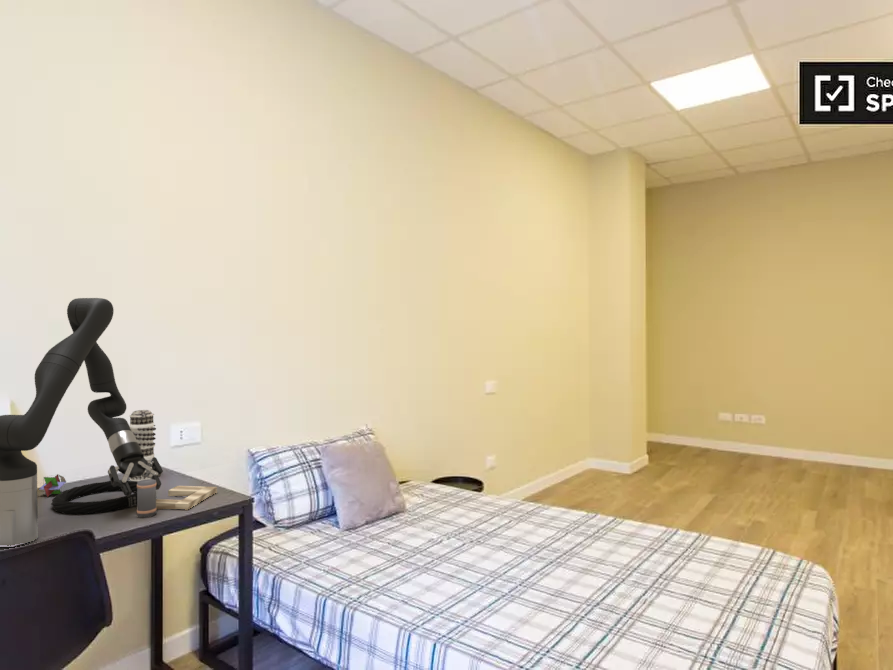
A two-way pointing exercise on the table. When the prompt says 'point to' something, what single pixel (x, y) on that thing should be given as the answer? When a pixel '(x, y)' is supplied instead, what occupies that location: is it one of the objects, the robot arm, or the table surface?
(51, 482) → the geometric puzzle
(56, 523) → the table surface
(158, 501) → the wooden u-shaped frame
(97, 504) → the cable lock
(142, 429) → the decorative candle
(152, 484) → the grey banded cylinder
